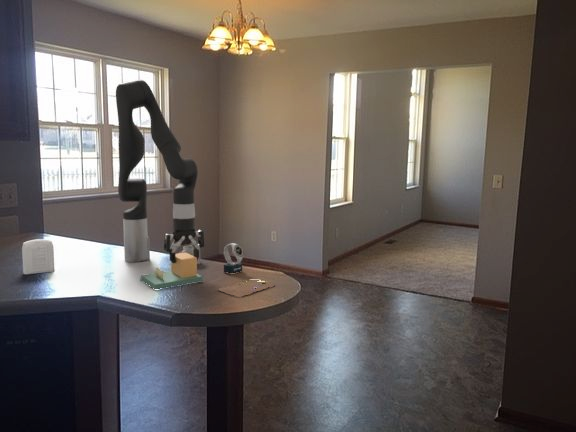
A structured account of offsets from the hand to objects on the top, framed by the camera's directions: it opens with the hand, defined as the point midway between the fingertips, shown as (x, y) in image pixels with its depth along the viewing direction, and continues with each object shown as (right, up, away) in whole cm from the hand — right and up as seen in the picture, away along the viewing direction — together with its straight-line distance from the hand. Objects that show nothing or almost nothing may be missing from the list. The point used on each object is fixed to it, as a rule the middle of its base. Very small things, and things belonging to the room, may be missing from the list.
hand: (184, 261), depth 169 cm
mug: (-3, -4, +22) cm, 22 cm away
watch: (+16, -5, +11) cm, 20 cm away
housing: (0, -5, 0) cm, 5 cm away
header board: (-4, -7, -2) cm, 8 cm away
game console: (+23, -9, -8) cm, 26 cm away
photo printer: (-55, -5, +6) cm, 56 cm away
